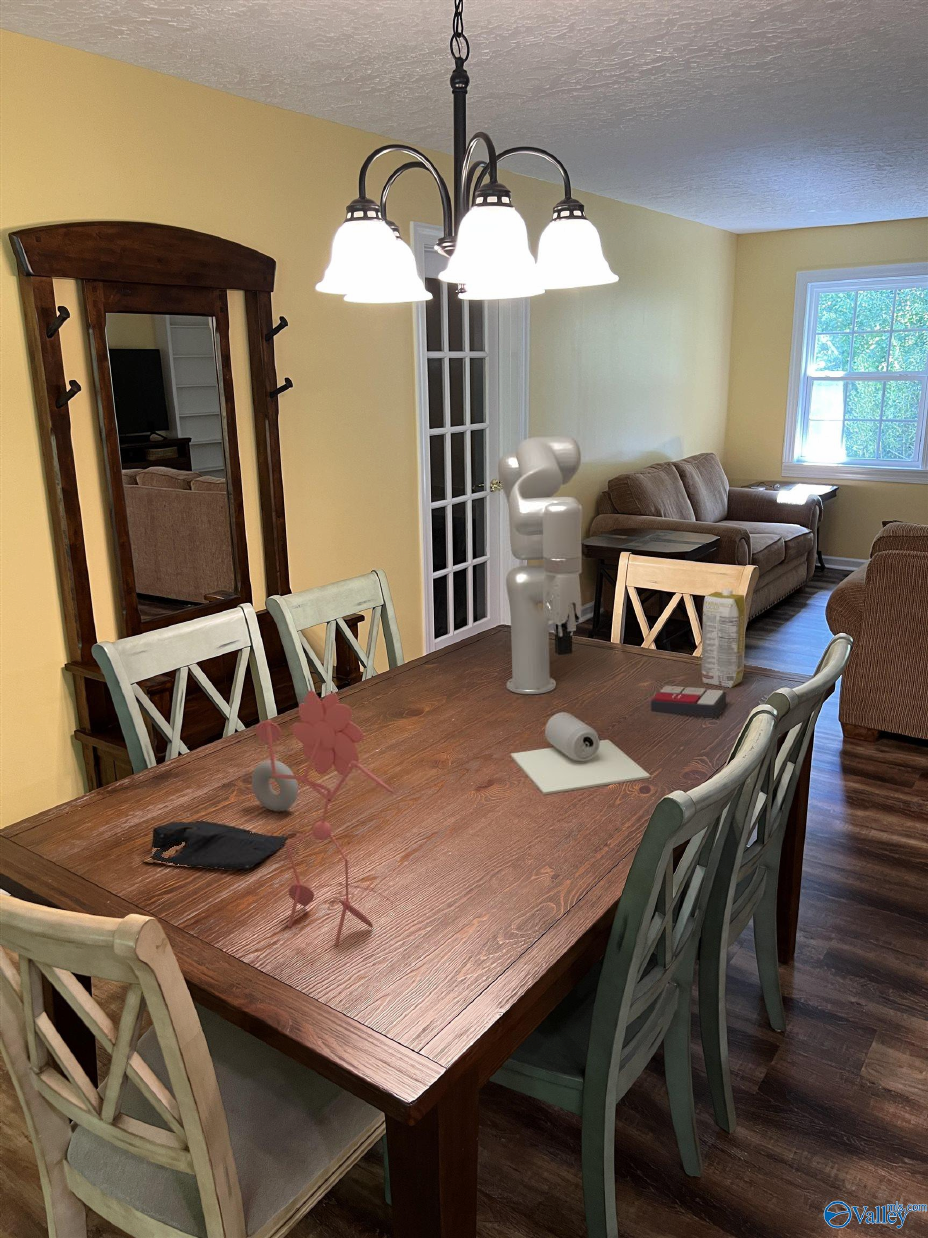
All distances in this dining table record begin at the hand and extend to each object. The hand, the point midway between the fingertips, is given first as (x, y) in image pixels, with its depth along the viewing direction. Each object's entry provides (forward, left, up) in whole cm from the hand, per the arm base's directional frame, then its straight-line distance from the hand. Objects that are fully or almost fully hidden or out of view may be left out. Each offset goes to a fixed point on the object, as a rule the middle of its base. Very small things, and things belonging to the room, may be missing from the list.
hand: (563, 653), depth 186 cm
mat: (+7, 0, -22) cm, 23 cm away
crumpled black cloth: (+18, -71, -23) cm, 77 cm away
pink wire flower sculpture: (+45, -53, -22) cm, 73 cm away
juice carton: (-29, +54, -22) cm, 65 cm away
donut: (+6, -60, -22) cm, 64 cm away
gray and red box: (-15, +37, -23) cm, 46 cm away
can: (-4, 0, -18) cm, 18 cm away
